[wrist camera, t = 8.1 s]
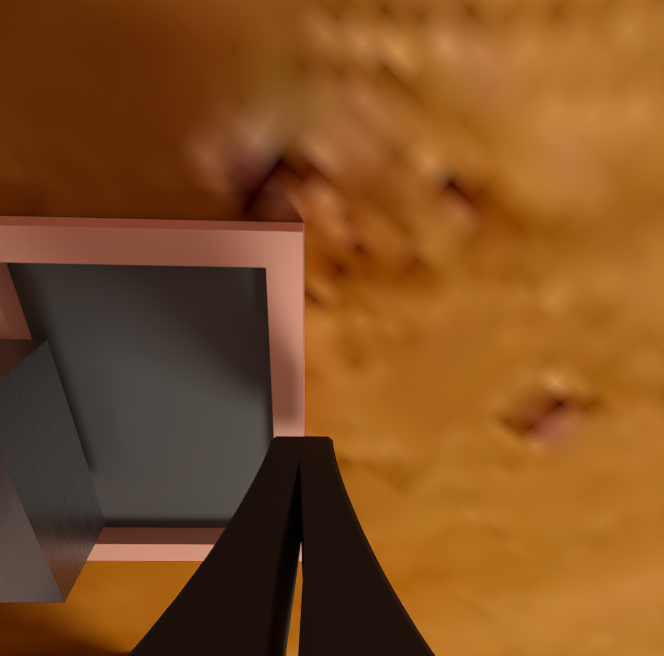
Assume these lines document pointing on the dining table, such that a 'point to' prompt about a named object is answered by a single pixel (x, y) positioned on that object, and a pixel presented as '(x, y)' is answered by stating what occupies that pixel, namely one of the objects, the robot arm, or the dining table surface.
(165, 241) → the picture frame
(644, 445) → the dining table surface
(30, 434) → the grey piece
